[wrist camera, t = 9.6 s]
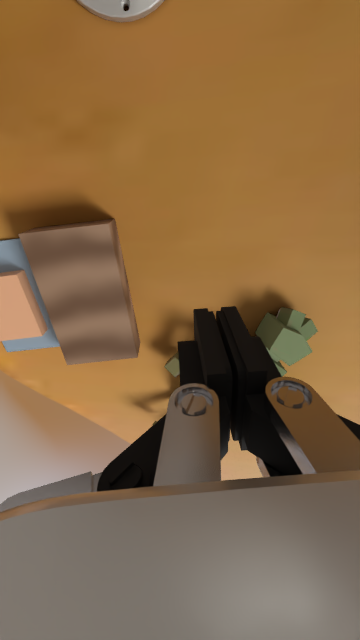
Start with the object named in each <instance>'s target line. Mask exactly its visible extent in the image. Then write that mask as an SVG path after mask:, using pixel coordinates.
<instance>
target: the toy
mask: <svg viewBox="0 0 360 640" xmlns="http://www.w3.org/2000/svg"><path fill="white" fill-rule="evenodd" d="M305 316H306V314H303V313H301V312H298V311H296V310H293V309H288V308H284V307H281V308H280V310H279V312H278V314H277V316H275V315H272V314H270V313H268V312H267V314H266V315H265V317H264V318H263V320H262V321H261V323H260V325H259V327H258V328H257V330H256V332H255V333H256V335H257V336H259V337H260V338H261V340H262V341H263V343H264V345H265V347H266V349H267V350H268V352H269V354H270V356H271V358H272V359H273V361H274V363H275V365H276V367H277V369H278V370H279V372H280V374H281V376H283V375H284V374H286V373H287V371H286V370H285V369H284V367H283V366H282V365H281V363H280V362H279V360H280V359H281V360H282V361H284V362H285V363H286V364H287V365H289V366H290V365H292V364H294V363H295V362H297V361H299V360H300V359H302V358H304V357H305V356H307V355H308V354H310V353H312V350H311V348H310V347H309V345H308V343H307V342H306V341H307V340H308V339H309V338H311V337H312V336H313V335H314V334H315V333H316V332H318V331H317V329H316V327H315V325H314V323H313V322H312V320H311V319H309V318H305ZM164 367H165V368H166V369H167V370H168V371H169V372H170V373H171V374H172V375H173V376H174V377H176V376H178V375H179V374H180V370H179V355H178V352H177V353H176V354H175V355H174V356H173V357H172V358H171V359H169V360H168V361H167V363H166V365H165V366H164ZM155 423H157V421H155V422H154V423H153V425H154V424H155Z"/></svg>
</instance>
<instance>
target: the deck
mask: <svg viewBox="0 0 360 640" xmlns="http://www.w3.org/2000/svg"><path fill="white" fill-rule="evenodd" d="M18 235H19V237H20V240H21V243H22V245H23V248H24V251H25V253H26V256H27V259H28V261H29V264H30V267H31V269H32V272H33V275H34V277H35V280H36V283H37V285H38V288H39V291H40V293H41V296H42V299H43V301H44V304H45V307H46V310H47V312H48V315H49V318H50V320H51V323H52V326H53V328H54V331H55V334H56V336H57V339H58V342H59V344H60V347H61V350H62V352H63V355H64V358H65V360H66V363H67V365H72V364H82V363H91V362H100V361H109V360H119V359H128V358H137V357H138V352H139V346H140V339H139V334H138V329H137V324H136V319H135V314H134V310H133V305H132V300H131V295H130V290H129V285H128V280H127V276H126V271H125V266H124V261H123V256H122V251H121V247H120V242H119V237H118V232H117V227H116V222H115V219H108V220H99V221H91V222H82V223H73V224H65V225H56V226H48V227H39V228H33V229H30V230H28V231H25V232H22V233H20V234H18Z"/></svg>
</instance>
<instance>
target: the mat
mask: <svg viewBox="0 0 360 640" xmlns="http://www.w3.org/2000/svg"><path fill="white" fill-rule="evenodd" d="M18 270H25V273H26V275H27V278H28V280H29V283H30V285H31V288H32V290H33V293H34V295H35V298H36V300H37V303H38V305H39V308H40V310H41V313H42V315H43V318H44V320H45V323H46V325H47V328H48V330H47V331H46V332H45V334H44V335H43V336H39V337H31V338H23V339H15V340H7V341H2V342H3V344H4V347H5V349H6V351H7V352H12V351H21V350H30V349H40V348H49V347H58V346H60V344H59V342H58V339H57V336H56V334H55V331H54V328H53V326H52V323H51V320H50V318H49V315H48V312H47V310H46V307H45V304H44V301H43V299H42V296H41V293H40V291H39V288H38V285H37V283H36V280H35V277H34V275H33V272H32V269H31V267H30V264H29V261H28V259H27V256H26V253H25V251H24V248H23V245H22V243H21V240H20V238H19V239H10V240H2V241H0V273H3V272H10V271H18Z"/></svg>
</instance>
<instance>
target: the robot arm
mask: <svg viewBox="0 0 360 640" xmlns="http://www.w3.org/2000/svg"><path fill="white" fill-rule="evenodd" d="M76 1H77V2H78V3H79V4H80V5H82V6H83V7H84V8H86V9H87V10H88V11H90V12H91V13H92V14H95V15H97V16H99V17H101V18H103V19H105V20H110V21H115V22H131V21H134V20H137V19H140V18H143V17H145V16H147V15H148V14H150V13H151V12H153V11H154V10H156V9H157V8H158V7H159V6H160V5H161V4H162V3H163V2H164V0H76ZM125 6H128V7H129V10H128V11H124V8H125ZM194 338H195V341H181V342H178V355H179V370H180V387H179V388H177V389H176V390H175V391H174V392H173V393H172V394H171V396H170V399H169V404H168V409H167V414H166V415H165V416H164V417H162V418H161V419H160V420H159V421H158V422H157V423H155V424H154V425H153V426H152V427H151V428H150V429H149V430H147V431H146V432H145V433H144V434H143V435H142V436H141V437H139V438H138V439H137V440H136V441H135V442H134V443H132V444H131V445H130V446H129V447H128V448H127V449H126V450H124V451H123V452H122V453H121V454H120V455H119V456H118V457H117V458H115V459H114V460H113V461H112V462H111V463H110V464H109V465H108V466H107V467H106V468H105V469H104V471H103V472H101V473H98V474H95V475H92V473H91V472H88V473H84V474H81V475H78V476H74V477H71V478H68V479H64V480H61V481H58V482H54V483H51V484H48V485H44V486H41V487H38V488H34V489H31V490H28V491H25V492H21V493H18V494H16V495H14V496H12V497H10V498H8V499H6V500H5V501H4V502H3V503H1V504H0V640H360V425H359V424H356V423H354V422H352V421H350V420H348V419H346V418H344V417H342V416H339V415H337V414H335V412H334V411H333V410H332V409H331V408H330V407H329V406H328V405H327V403H326V402H325V401H324V400H323V399H322V398H321V397H320V396H319V394H318V393H317V392H316V391H315V390H314V389H313V388H312V387H311V386H310V385H308V384H307V383H305V382H303V381H301V380H299V379H296V378H291V377H282V376H281V374H280V372H279V370H278V369H277V367H276V365H275V363H274V361H273V359H272V358H271V356H270V354H269V352H268V350H267V349H266V347H265V345H264V343H263V341H262V340H261V338H260V337H259V336H252V337H251V336H250V334H249V332H248V330H247V328H246V326H245V324H244V322H243V320H242V318H241V316H240V314H239V312H238V310H237V308H236V307H235V306H233V307H222V308H221V311H217V312H216V320H215V316H214V313H213V311H212V312H208V309H207V308H204V309H194ZM230 430H231V434H232V438H233V440H234V441H237V440H239V444H240V448H241V450H248V451H249V452H251V453H252V454H254V455H255V456H256V461H257V464H258V467H259V469H260V471H261V473H262V475H263V478H250V479H237V480H225V481H221V462H220V461H221V460H222V458H223V457H224V456H225V455H226V453H227V452H228V441H229V438H230Z"/></svg>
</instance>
